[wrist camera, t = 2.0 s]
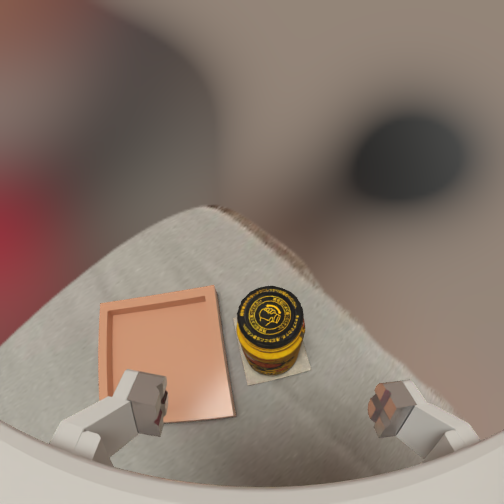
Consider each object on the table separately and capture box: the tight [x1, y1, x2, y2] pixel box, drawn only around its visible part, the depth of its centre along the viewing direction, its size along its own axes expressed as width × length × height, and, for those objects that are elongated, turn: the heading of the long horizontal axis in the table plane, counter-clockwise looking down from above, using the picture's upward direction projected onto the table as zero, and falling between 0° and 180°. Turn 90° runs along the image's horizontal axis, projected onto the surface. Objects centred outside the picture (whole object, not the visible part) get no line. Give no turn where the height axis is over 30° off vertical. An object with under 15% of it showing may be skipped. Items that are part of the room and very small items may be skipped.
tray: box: [98, 285, 236, 423], centre depth 31 cm, size 15×15×2 cm
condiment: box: [233, 286, 311, 386], centre depth 28 cm, size 7×8×12 cm
